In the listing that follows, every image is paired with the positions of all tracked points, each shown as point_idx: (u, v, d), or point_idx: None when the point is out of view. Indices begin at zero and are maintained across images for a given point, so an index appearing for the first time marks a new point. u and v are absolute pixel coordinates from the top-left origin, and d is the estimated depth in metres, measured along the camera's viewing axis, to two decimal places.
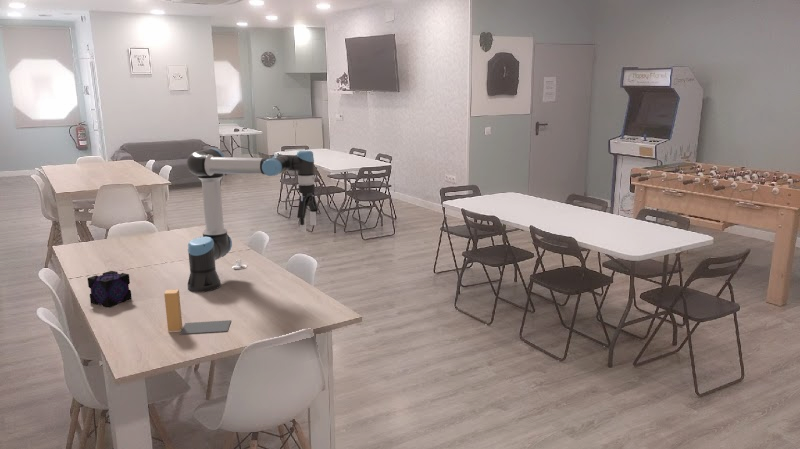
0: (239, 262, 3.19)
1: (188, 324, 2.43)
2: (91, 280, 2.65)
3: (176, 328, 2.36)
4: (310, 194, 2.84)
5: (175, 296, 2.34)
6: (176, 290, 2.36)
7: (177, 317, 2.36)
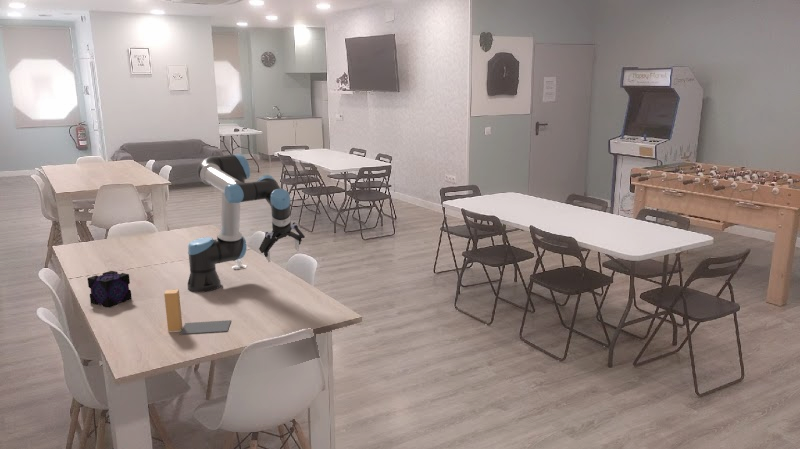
0: (239, 262, 3.19)
1: (188, 324, 2.43)
2: (91, 280, 2.65)
3: (176, 328, 2.36)
4: None
5: (175, 296, 2.34)
6: (176, 290, 2.36)
7: (177, 317, 2.36)
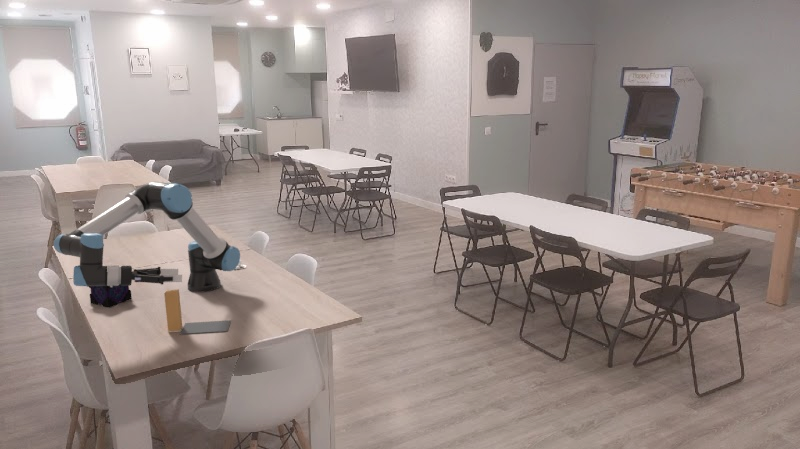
0: None
1: (188, 324, 2.43)
2: None
3: (176, 328, 2.36)
4: None
5: (175, 296, 2.34)
6: (176, 290, 2.36)
7: (177, 317, 2.36)
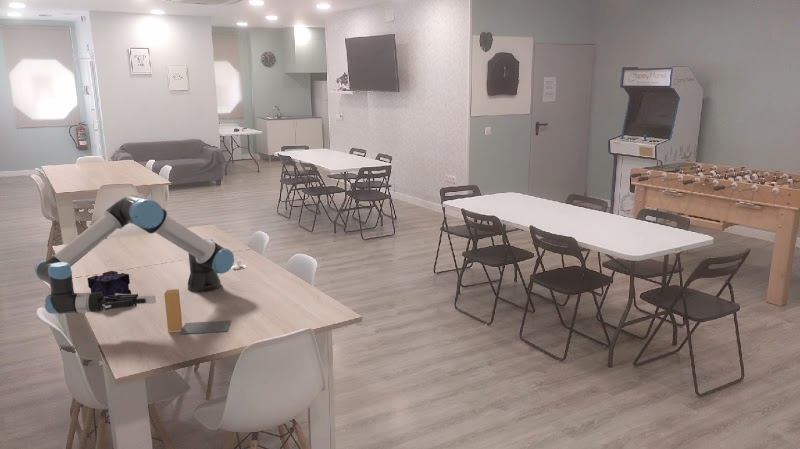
0: (238, 262, 3.19)
1: (188, 324, 2.43)
2: (91, 280, 2.65)
3: (176, 328, 2.36)
4: None
5: (175, 296, 2.34)
6: (176, 290, 2.36)
7: (177, 317, 2.36)
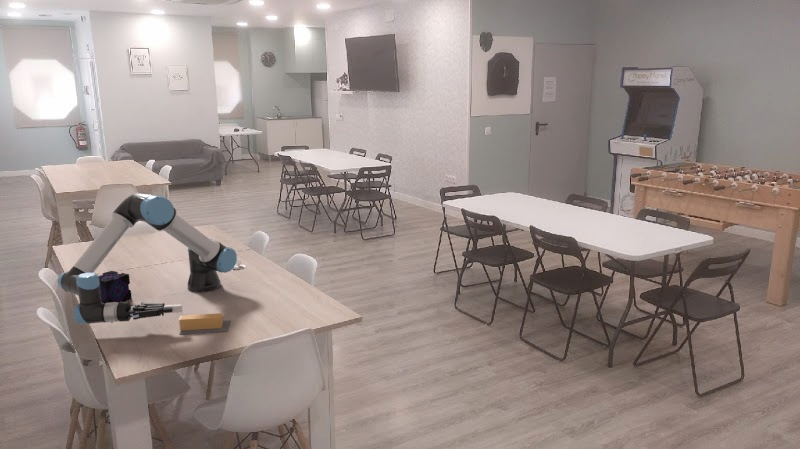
0: (238, 262, 3.19)
1: None
2: None
3: (182, 327, 2.37)
4: None
5: (217, 327, 2.39)
6: (222, 323, 2.42)
7: (195, 328, 2.38)
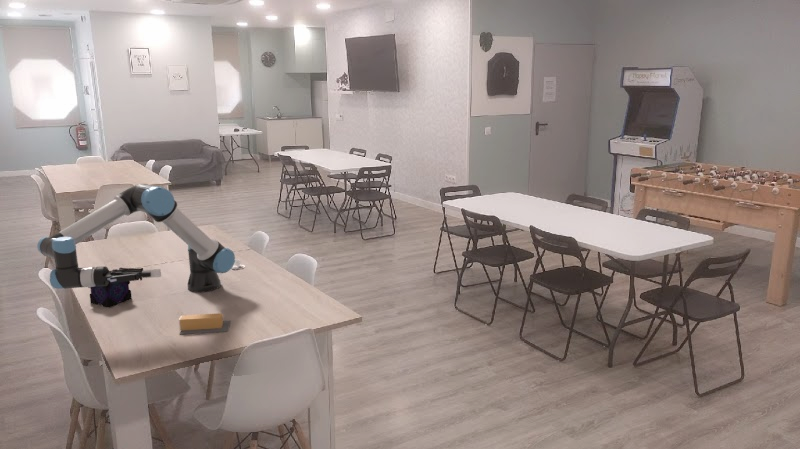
0: (237, 262, 3.19)
1: None
2: None
3: (182, 327, 2.37)
4: None
5: (217, 327, 2.39)
6: (222, 323, 2.42)
7: (195, 328, 2.38)
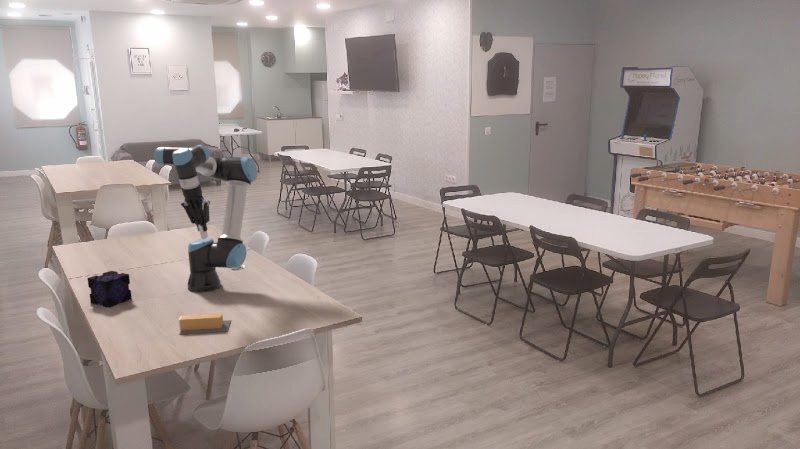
0: None
1: None
2: (91, 280, 2.65)
3: (182, 327, 2.37)
4: (196, 197, 2.49)
5: (217, 327, 2.39)
6: (222, 323, 2.42)
7: (195, 328, 2.38)
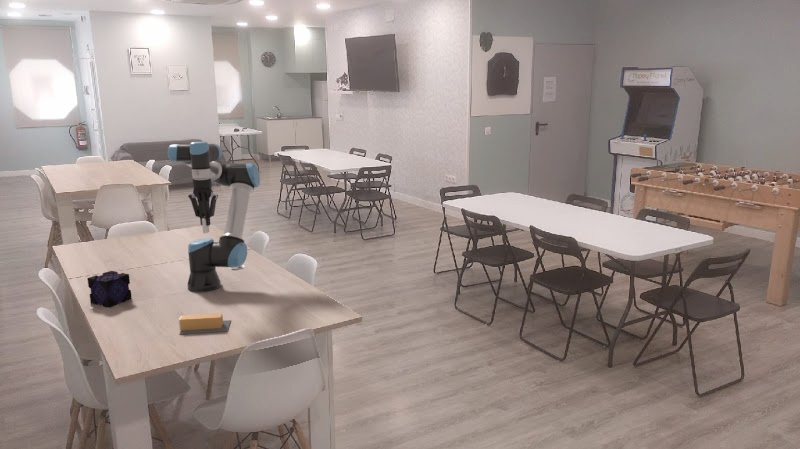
0: None
1: None
2: (91, 280, 2.65)
3: (182, 327, 2.37)
4: (206, 189, 2.54)
5: (217, 327, 2.39)
6: (222, 323, 2.42)
7: (195, 328, 2.38)
